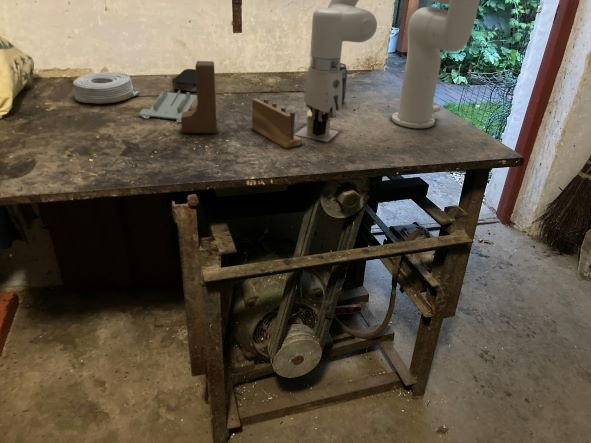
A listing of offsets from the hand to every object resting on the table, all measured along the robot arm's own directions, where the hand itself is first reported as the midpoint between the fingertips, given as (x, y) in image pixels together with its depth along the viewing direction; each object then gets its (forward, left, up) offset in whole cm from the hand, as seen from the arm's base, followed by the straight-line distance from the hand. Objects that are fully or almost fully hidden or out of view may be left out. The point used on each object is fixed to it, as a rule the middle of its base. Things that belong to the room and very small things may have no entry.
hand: (319, 134), depth 128 cm
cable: (+36, -62, -2) cm, 72 cm away
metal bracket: (+24, -39, -2) cm, 46 cm away
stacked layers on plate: (-3, -4, -2) cm, 6 cm away
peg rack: (+8, -8, -2) cm, 12 cm away
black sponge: (+7, -61, -2) cm, 61 cm away
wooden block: (+24, -22, -2) cm, 32 cm away
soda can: (-25, -23, -2) cm, 34 cm away
